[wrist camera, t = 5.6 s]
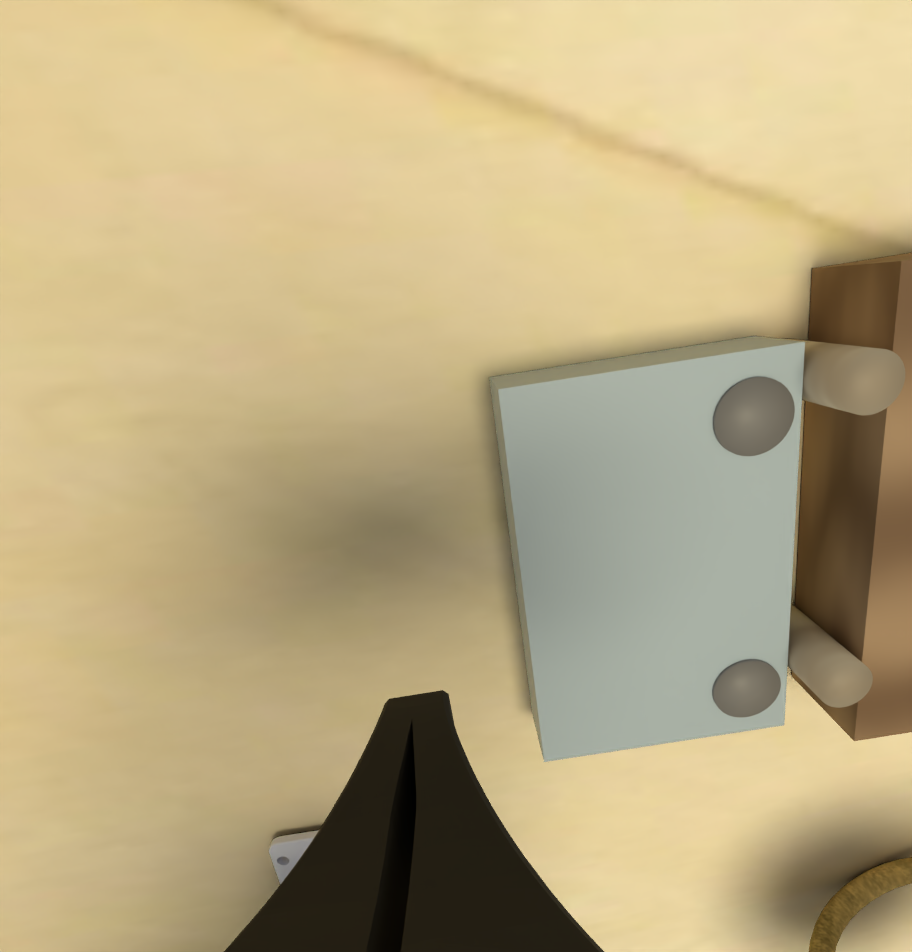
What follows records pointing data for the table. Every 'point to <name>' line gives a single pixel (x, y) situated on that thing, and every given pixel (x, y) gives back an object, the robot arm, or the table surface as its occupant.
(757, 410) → the door
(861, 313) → the hinge rail
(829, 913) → the wall sconce
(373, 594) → the table surface
